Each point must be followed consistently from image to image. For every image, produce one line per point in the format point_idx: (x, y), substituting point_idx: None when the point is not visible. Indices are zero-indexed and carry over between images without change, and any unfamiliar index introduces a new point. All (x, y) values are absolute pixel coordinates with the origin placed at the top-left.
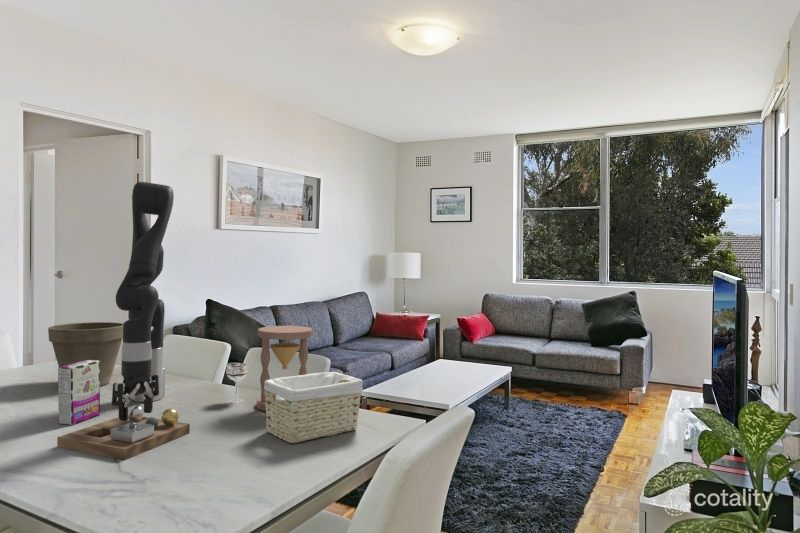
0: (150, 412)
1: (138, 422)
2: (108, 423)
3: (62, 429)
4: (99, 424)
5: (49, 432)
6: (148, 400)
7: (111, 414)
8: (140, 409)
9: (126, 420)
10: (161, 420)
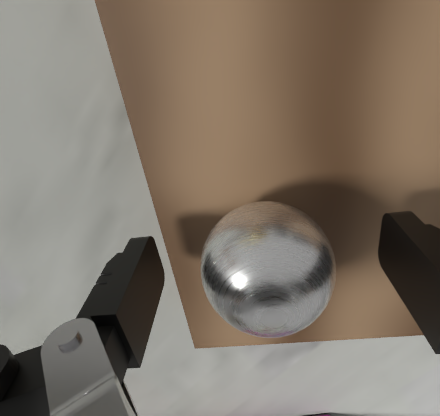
0: (142, 237)
1: (272, 192)
2: (368, 307)
3: (379, 406)
4: (402, 325)
5: (423, 410)
6: (123, 326)
7: (166, 412)
8: (269, 245)
9: (392, 212)
10: (140, 86)
